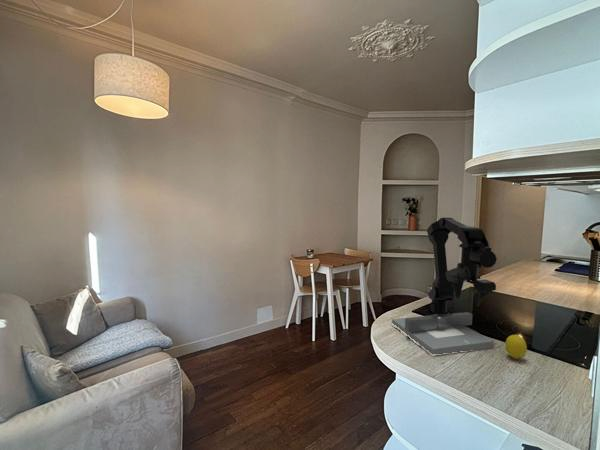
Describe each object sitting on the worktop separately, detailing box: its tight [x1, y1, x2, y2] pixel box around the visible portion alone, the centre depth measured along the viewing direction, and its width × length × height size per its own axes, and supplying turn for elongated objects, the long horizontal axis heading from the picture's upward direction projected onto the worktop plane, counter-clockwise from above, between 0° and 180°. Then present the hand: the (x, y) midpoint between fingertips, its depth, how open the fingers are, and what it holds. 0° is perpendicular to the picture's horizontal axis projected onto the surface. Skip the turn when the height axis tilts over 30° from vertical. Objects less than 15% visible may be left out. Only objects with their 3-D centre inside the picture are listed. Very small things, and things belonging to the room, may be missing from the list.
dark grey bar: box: [404, 311, 474, 332], centre depth 109 cm, size 27×4×4 cm, turn 104°
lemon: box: [504, 333, 528, 360], centre depth 94 cm, size 6×6×8 cm
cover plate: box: [391, 314, 494, 354], centre depth 110 cm, size 24×24×3 cm
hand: (466, 302), depth 111 cm, fingers open, 9 cm apart
